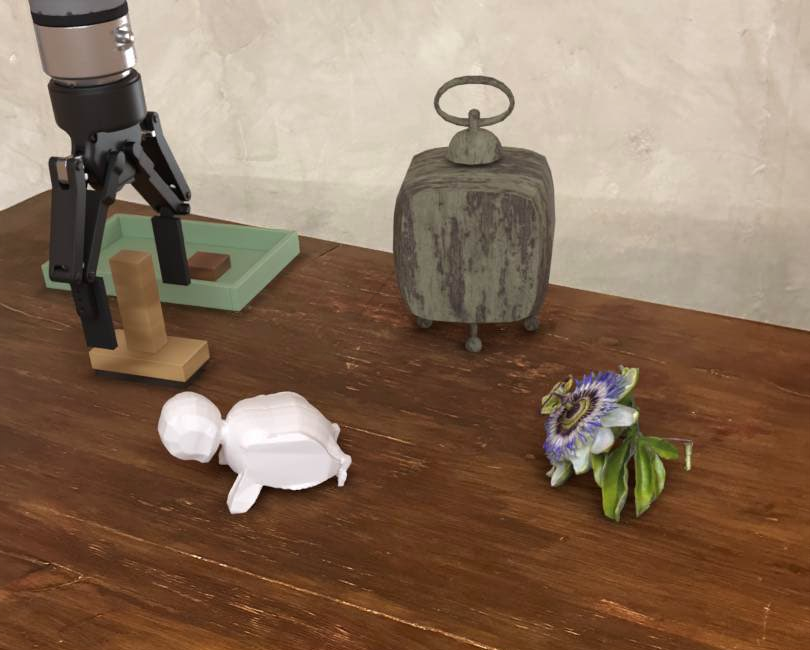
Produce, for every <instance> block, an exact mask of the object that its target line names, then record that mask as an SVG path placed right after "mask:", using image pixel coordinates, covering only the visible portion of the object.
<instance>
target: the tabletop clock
mask: <svg viewBox="0 0 810 650" xmlns="http://www.w3.org/2000/svg"><path fill="white" fill-rule="evenodd" d="M462 85H463V86H464V85H483V86H484V85H485V86H491V87H494V88H496V89H499V91H501V92H502V93H504V94H505V96H506V97H507V99H508V102H509V104H508V108H507V109H506V110H505V111H503V112H502V113H500V114H497V115H494V116H491V117H481V112H480V110H479V109H477V108H472V109H470V110H469V111H468V114H467V117H458V116H454V115H451V114H449V113H447V112H445V111H444V110H442V108H441V107H440V99H441V98H442V96H443V95H444V94H445V93H446V92H447V91H448V90H450V89H453V88H454V87H457V86H462ZM515 104H516V100H515V96H514V94H513V92H512V90H511V89H510V88H509V86H507V85H506V83H504V82H503V81H501V80H499V79H497V78H495V77H493V76H492V77H491V76H486V75H462V76H458V77H454V78H451V79H450V80H448V81H445V82H444V83H443V84H442V85H441V86H440V87H439V88H438V89H437V91H436V93H435V96H434V97H433V107H434V109H435V112H436V113H437V115H438V116H439V117H440V118H442V120H444V121H445V122H447V123H450V124H452V125H455V126H457V127H465V128H464V129H462V130H459V131H457V132H456V133H455V134H454V135H453V136H452V138H451V139H450V141H449V143H448V146H440V147H433V148H429V149H425V150H423V151H420V152H419V153H416V154H414V155H413V156H412V158H411V161H410V163H409V165H408V168H407V170H406V173H405V175H404V178H403V180H402V183H401V185H400V188H399V190H398V193H397V196H396V198H395V203H394V204H395V205H394V211H393V221H392V222H393V228H392V255H393V256H392V257H393V262H394V270H395V271H394V272H395V278H396V283H397V288H398V292H399V296H400V299H401V301H402V304H403V305H404V307H405V310H406V311H407V312H408V313H409V314H412V315H414V316H416V317H417V318H416V324H417V325H418V327H419V328H421V329H429V328H430V327H431V326H432V325H433V321H436V322H437V321H438V322H446V323H447V322H449V323H457V324H458V323H459V324H467V325H469V329H470V337H468V338H467V339H466V341H465V344H464V347H465V349H466V351H467V352H469V353H472V354H473V353H474V354H475V353H479V352H481V350H482V348H483V342H482V340H481V339H480V338H479V337H478V326H479V325H480V324H503V323H504V324H506V323H517V322H523V328H524V329H525V330H526V331H527V332H535V331H537V330H538V329H539V328H540V324H541V321H540V319H539V317H538V315H539V313H540V311H541V309H542V307H543V305H544V304H545V300H546V297H547V293H548V290H549V289H548V288H549V284H550V283H549V282H550V276H551V275H550V274H551V266H552V258H553V250H554V241H555V240H554V239H555V230H556V197H555V186H554V179H553V173H552V170H551V167H550V164H549V163H548V160H547V157H546V155H543V154H541V153H540V152H539V153H538V152H537V151H535V150H531V149H527V148H524V147H515V146H502V142H501V140H500V139H499V137H498V136H497V135H496V134H495V133H494V132H493V131H491V130H489V129H488V128H484V127H489V126H493V125H497V124H500V123H501V122H504V121H505V120H506V119H507V118H508V117H509V116H511V114H512V113H513V111H514V109H515Z"/></svg>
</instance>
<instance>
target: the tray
mask: <svg viewBox="0 0 810 650" xmlns="http://www.w3.org/2000/svg"><path fill="white" fill-rule="evenodd" d="M152 217H153V216H149V215H138V214H130V213H119V212H116V213H114V214H113V215H111V216H110V217H108V218H106V224H105V229H104V234H103V240H102V245H101V250H100V256H99V261H98V266H97V272H96V276H98V277H103V280H104V284H105V289H106V293H107V296H113V297H116V292H115V287H114V282H113V278H112V273H111V268H110V264H109V259H110V258H112V257H113V256H114V255H116V254H117V253H118V252H120V251H121V250H131V251H141V252H150V253H151V256H152V261H153V266H154V272H155V277H156V282H157V287H158V293H159V298H160V303H161V302H162V303H171V304H178V305H186V306H195V307H203V308H211V309H218V310H225V311H226V310H227V311H234V312H235V311H236V312H240V311H241V310H242V309H244V308H245V307H246V305H248V304H249V303H250V302H251V301H252V300H253V299H254V298H255V297H256V296H257V295H258V294H259V293H260V292H261V291H262V290H263V289H264V288H265V287H266V286H267V285H268V284H269V283H270V282H271V281H272V280H273V279H275V278H276V276H278V274H279V273H281V272H282V270H284V269H285V267H286V266H287V265H289V264H290V263H291V262H292V261H293V260H294V259H295V258H296V257H297V256H298V255H299V254H300V253H301V251H300V250H301V249H300V239H299V232H298V230H291V229H283V228H271V227H262V226H261V227H260V226H251V225H241V224H230V223H221V222H211V221H202V220H201V221H200V220H189V219H181V223H182V230H183V235H184V244H185V250H186V256H187V260H188V259H189V258H190V257H192V256H193V255H194V254H195V253H196V252H198V251H200V252H209V253H219V254H228V255H230V261H231V268H230V269H229V270H227V271H226V272H225V273H224V274H223V275H222V276H221V277H220V278H219V279H217V280H216V281H215V282H214V281H205V280H197V279H191V283H190V284H189V285H188V286H182V285H173V284H165V283H163V281H162V276H161V271H160V265H159V260H158V255H157V249H156V244H155V239H154V233H153V228H152V222H151V218H152ZM40 266H41V271H42V274H43V278H44V283H45V287H46V288H49V289H56V290H64V291H71V287H70V284H68V283H59V282H52V281H51V280H50V279H49V259H48V260H47V261H45V262H44V263H43V264H41V265H40ZM62 267H63V266H62ZM83 267H84V263H83Z"/></svg>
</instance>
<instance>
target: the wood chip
mask: <svg viewBox="0 0 810 650" xmlns="http://www.w3.org/2000/svg"><path fill="white" fill-rule="evenodd" d="M187 261H188V267H189V273H190V279H197V280H205V281H214V282H215V281H216V280H217V279H219V278H220V277H221V276H222V275H223V274H224V273H225V272H226V271H227V270H229V269H230V268H231V261H230V255H228V254H219V253H209V252H200V251H198V252H196V253H195V254H194V255H193V256H192V257H190V258H189V259H188V260H187Z"/></svg>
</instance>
